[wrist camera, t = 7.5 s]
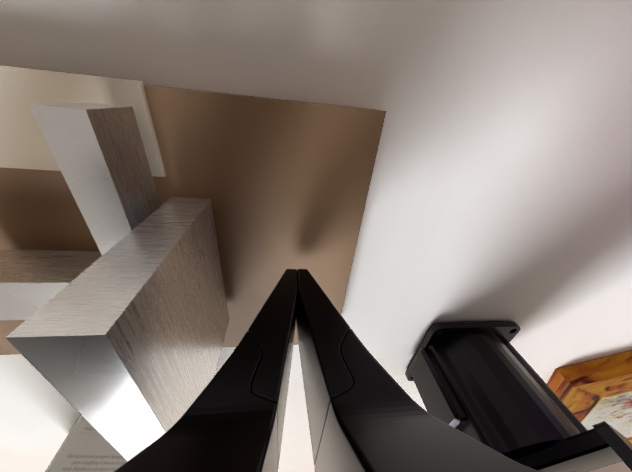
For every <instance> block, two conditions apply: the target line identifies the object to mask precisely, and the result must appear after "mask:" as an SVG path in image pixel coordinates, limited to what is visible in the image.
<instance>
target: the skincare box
mask: <svg viewBox="0 0 632 472" xmlns="http://www.w3.org/2000/svg"><path fill="white" fill-rule="evenodd" d="M126 462H127V460H126V459H125V458H124V457H123V456H122V455H121V454H120V453H119V452H118V451H117V450H116V449H115V448H114V447H113V446H112V445H111V444H110V443H109V442H108V441H107V440H106V439H105V438H104V437H103V436H102V435H101V434H100V433H99V432H98V431H97V430H96V429H95V428H94V427H93V426H92V425H91V424H90V423H89V422H88V421H87V420H86V419H85V418H84V417H83V416H82V415H81V416H80V417H79V418H78V420H77V421H76V423H75V424H74V426H73V428H72V429H71V431H70V432H69V434H68V436H67V437H66V439H65V441H64V442H63V444H62V445H61V447H60V449H59V450H58V452H57V453H56V455H55V457H54V458H53V460H52V461H51V463H50V465H49V466H48V468H47V469H46V471H45V472H114V471H115V470H117V469H118V468H119V467H121V466H122V465H123V464H125V463H126Z"/></svg>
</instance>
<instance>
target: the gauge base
mask: <svg viewBox="0 0 632 472" xmlns="http://www.w3.org/2000/svg"><path fill="white" fill-rule="evenodd" d="M56 103H99V104H110V105H120V106H131V107H133V110H134V114H135V117H136V121H137V124H138V128H139V132H140V135H141V139H142V142H143V146H144V149H145V153H146V156H147V160H148V163H149V167H150V170H151V174H152V178H153V181H154V185H155V188H156V192H157V195H158V199H159V202H160V206H161V205H163V204H164V203H165V202H166V201H167V200H169V199H170V198H171V197H179V198H199V199H211V205H212V211H213V218H214V224H215V230H216V237H217V243H218V250H219V256H220V262H221V269H222V275H223V282H224V288H225V294H226V301H227V307H228V314H229V323H228V327H227V331H226V335H225V338H224V342H223V346H222V347H237V346H238V344H239V343H240V341H241V340H242V338H243V337H244V335H245V333H246V332H247V331H248V329H249V327H250V326H251V324H252V323H253V321H254V319H255V318H256V316H257V315H258V313H259V311H260V310H261V308H262V307H263V305H264V304H265V302H266V300H267V299H268V297H269V296H270V294H271V293H272V291H273V289H274V288H275V286H276V285H277V283H278V282H279V280H280V278H281V277H282V275H283V274H284V272H285V270H286V269H296V270H297V269H307V270H308V271H309V272H310V274H311V275H312V276H313V278H314V279H315V280H316V282H317V283H318V284H319V286H320V287H321V289H322V290H323V291H324V293H325V294H326V295H327V297H328V298H329V299H330V301H331V302H332V304H333V305H334V306H335V308H336V309H337V310H338V312H339V313H340V314H341V311H342V306H343V302H344V298H345V293H346V289H347V284H348V280H349V275H350V271H351V266H352V262H353V257H354V253H355V248H356V244H357V239H358V235H359V230H360V226H361V221H362V217H363V212H364V208H365V203H366V199H367V194H368V190H369V185H370V181H371V176H372V172H373V167H374V163H375V158H376V154H377V149H378V145H379V140H380V136H381V131H382V127H383V122H384V118H385V113H386V111H380V110H373V109H364V108H354V107H345V106H336V105H327V104H317V103H308V102H299V101H290V100H280V99H271V98H262V97H252V96H243V95H234V94H225V93H215V92H206V91H197V90H188V89H178V88H169V87H160V86H150V85H144V82H143V81H139V80H129V79H120V78H111V77H102V76H93V75H84V74H75V73H66V72H57V71H47V70H38V69H29V68H20V67H11V66H2V65H0V250H53V251H100V250H99V248H98V246H97V244H96V242H95V240H94V238H93V236H92V234H91V232H90V230H89V228H88V226H87V224H86V222H85V220H84V217H83V215H82V213H81V211H80V209H79V207H78V205H77V203H76V201H75V199H74V197H73V195H72V193H71V191H70V189H69V187H68V185H67V183H66V180H65V178H64V176H63V174H62V172H61V170H60V168H59V166H58V164H57V162H56V160H55V158H54V156H53V154H52V152H51V150H50V148H49V146H48V144H47V141H46V139H45V137H44V135H43V133H42V131H41V129H40V127H39V125H38V123H37V121H36V119H35V117H34V115H33V113H32V111H31V109H30V107H29V104H56ZM24 321H25V320H0V355H8V354H21V353H20V352H19V351H18V350H17V349H16V348H15V347H14V346H13V345H12V344H11V343H10V342H9V341H8V340H7V339H6V338H5V337H6V336H8V335H9V334H10V333H11V332H12V331H14V330H15V329H16V328H17V327H18V326H19V325H21V324H22V323H23V322H24ZM296 344H299V343H298V335H297V327H295V336H294V344H293V345H296Z"/></svg>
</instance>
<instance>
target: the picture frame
mask: <svg viewBox="0 0 632 472" xmlns="http://www.w3.org/2000/svg"><path fill="white" fill-rule="evenodd" d="M547 385H548V386H549V388H550V389H551V390H552V391H553V392H554V393H555V394H556V395H557V397H558V398H559V399H560V400H561V401H562V402H563V403H564V404H565V405H566V407H567V408H568V409H569V410H570V411H571V412H572V413H573V414H574V416H575V417H576V418H577V419H578V420H579V421H580V422H581V423H582V425H583V426H584V427H585V428H586V429H587V430H590V429H593V426H592V425H595V424H598V423H600V422H603V421H605V422H606V423H608V424H609V425H610V426H612V427H613V428H614V429H615V430H617V431H618V432H619V433H621V434H622V435H623V436H624V437H625V438H627V439H628V440H629V441H630V442H631V443H632V350H631V351H627V352H623V353H619V354H614V355H610V356H606V357H602V358H598V359H594V360H590V361H586V362H582V363H577V364H573V365H569V366H565V367H561V368H557V369H555V371H554V372H553V374H552V376H551V378H550V379H549V381H548V383H547Z"/></svg>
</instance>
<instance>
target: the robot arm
mask: <svg viewBox="0 0 632 472" xmlns="http://www.w3.org/2000/svg"><path fill="white" fill-rule="evenodd" d="M295 327H297V335H298V343H299V351H300V358H301V366H302V374H303V382H304V389H305V397H306V405H307V413H308V420H309V428H310V436H311V443H312V451H313V459H314V465H315V472H589V471H592V470H596V469H599V468H602V467H606V466H609V465H612V464H615V463H619V462H622V461H623V462H624V463H625V464H626V465H627V466H628V467H629V468H630V469H631V471H632V443H631V442H630V441H629V440H628V439H627V438H625V437H624V436H623V435H622V434H621V433H619V432H618V431H617V430H615V429H614V428H613V427H612V426H610V425H609V424H608V423H606V422H605V421H603V422H600V423H598V424H595V425H592V426H593V429H590V430H587V429H586V428H585V427H584V426H583V425H582V423H581V422H580V421H579V420H578V419H577V418H576V417H575V416H574V414H573V413H572V412H571V411H570V410H569V409H568V408H567V407H566V405H565V404H564V403H563V402H562V401H561V400H560V399H559V398H558V397H557V395H556V394H555V393H554V392H553V391H552V390H551V389H550V388H549V386H548V385H547V384H546V383H545V382H544V381H543V380H542V379H541V378H540V376H539V375H538V374H537V373H536V372H535V371H534V370H533V369H532V367H531V366H530V365H529V364H528V363H527V362H526V361H525V360H524V358H523V357H522V356H521V355H520V354H519V353H518V352H517V351H516V350H515V348H514V347H513V346H512V345H511V344H510V343H509V342H510V341H511V340H512V339H513V338H514V336H515V335H516V334H517V333H518V332H519V331H520V327H519V326H518V325H517V324H516V323H515V322H513V321H510V322H468V323H438V324H434V325H433V326H431V328H430V329H429V331H428V333H427V334H426V336H425V338H424V340H423V342H422V344H421V345H420V347H419V349H418V351H417V353H416V354H415V356H414V358H413V360H412V362H411V364H410V365H409V367H408V369H407V371H406V373H405V374H406V377H407V379H408V380H409V381H414V382H415V384H416V386H417V389H418V391H419V393H420V396H421V398H422V400H423V402H424V405H425V407H426V409H427V411H425V410H424V409H423V408H421V407H420V406H419V405H418V404H417V403H416V402H415V401H413V400H412V399H411V397H410V396H409V395H408V394H407V393H406V392H405V391H404V390H403V389H402V388H401V387H400V386H399V385H398V383H397V382H396V381H395V380H394V379H393V378H392V377H391V376H390V375H389V374H388V372H387V371H386V370H385V369H384V368H383V367H382V366H381V365H380V364H379V363H378V362H377V360H376V359H375V358H374V357H373V356H372V355H371V354H370V352H369V351H368V350H367V349H366V348H365V346H364V345H363V344H362V343H361V341H360V340H359V339H358V337H357V336H356V335H355V333H354V332H353V331H352V329H350V327H349V325H348V324H347V323H346V321H345V320H344V318H343V317H342V316H341V314H340V313H339V312H338V310H337V309H336V308H335V306H334V305H333V304H332V302H331V301H330V299H329V298H328V297H327V295H326V294H325V293H324V291H323V290H322V289H321V287H320V286H319V284H318V283H317V282H316V280H315V279H314V278H313V276H312V275H311V274H310V272H309V271H308V270H307V269H297V270H296V269H286V270H285V272H284V274H283V275H282V277H281V278H280V280H279V282H278V283H277V285H276V286H275V288H274V289H273V291H272V293H271V294H270V296H269V297H268V299H267V300H266V302H265V304H264V305H263V307H262V308H261V310H260V311H259V313H258V315H257V316H256V318H255V319H254V321H253V323H252V324H251V326H250V327H249V329H248V331H247V332H246V333H245V335H244V337H243V338H242V340H241V341H240V343H239V344H238V346H237V347H236V349H235V350H234V352H233V353H232V354H231V356H230V357H229V358H228V360H227V361H226V362H225V364H224V365H223V366H222V367H221V369H220V370H219V371H218V373H217V374H216V375H215V376H214V377H213V379H212V380H211V381H210V382H209V384H208V385H207V386H206V387H205V389H204V390H203V391H202V392H201V394H200V395H199V396H198V397H197V399H196V400H195V401H194V402H193V403H192V405H191V406H190V407H189V408H188V410H187V411H186V412H185V413H184V414H183V416H182V417H181V418H180V419H179V420H178V421H177V422H176V423H175V424H174V425H173V426H172V427H171V428H170V429H169V430H168V431H167V432H166V433H165V434H163V435H162V436H161V437H160V438H158V439H157V440H156V441H154V442H153V443H152V444H150V445H149V446H148V447H146V448H145V449H144V450H142V451H141V452H140V453H138V454H137V455H136V456H134V457H133V458H131V459H130V460H129V461H127V462H126V463H125V464H123V465H122V466H121V467H119V468H118V469H117V470H115V471H114V472H278V465H279V457H280V449H281V441H282V433H283V425H284V416H285V408H286V400H287V392H288V384H289V376H290V368H291V360H292V352H293V344H294V336H295Z"/></svg>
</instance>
